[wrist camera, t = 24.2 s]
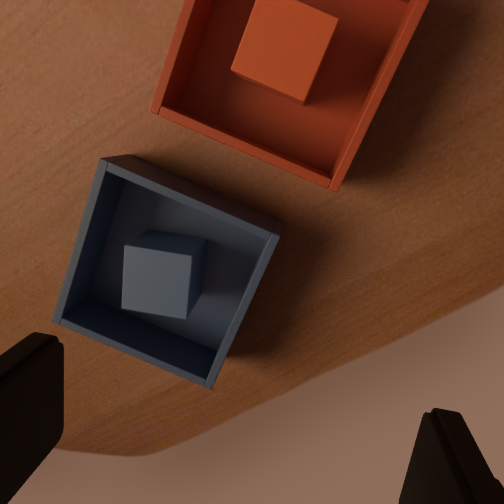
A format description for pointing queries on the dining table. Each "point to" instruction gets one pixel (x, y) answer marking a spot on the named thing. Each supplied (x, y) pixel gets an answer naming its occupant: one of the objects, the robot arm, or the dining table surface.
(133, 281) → the blue block
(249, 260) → the blue bin
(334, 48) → the terracotta bin
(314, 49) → the terracotta block
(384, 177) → the dining table surface
